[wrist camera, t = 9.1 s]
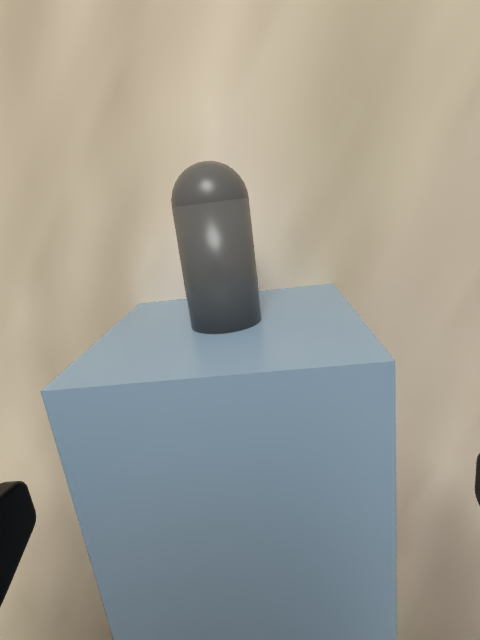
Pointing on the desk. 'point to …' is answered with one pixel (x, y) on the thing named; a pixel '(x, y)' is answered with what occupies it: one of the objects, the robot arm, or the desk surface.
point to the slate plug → (234, 449)
